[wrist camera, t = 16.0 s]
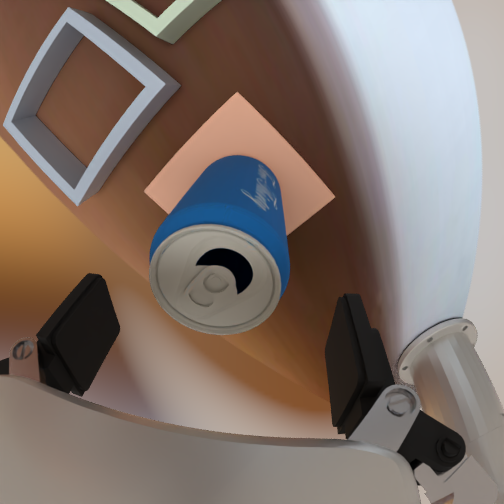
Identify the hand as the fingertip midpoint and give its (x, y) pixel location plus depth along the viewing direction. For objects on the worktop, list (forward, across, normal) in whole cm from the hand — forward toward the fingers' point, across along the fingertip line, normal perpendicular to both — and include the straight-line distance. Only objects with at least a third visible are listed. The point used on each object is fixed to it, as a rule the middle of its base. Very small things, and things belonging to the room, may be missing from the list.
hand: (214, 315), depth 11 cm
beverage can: (+14, +1, -1) cm, 14 cm away
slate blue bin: (+13, +14, -9) cm, 21 cm away
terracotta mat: (+14, +1, -1) cm, 14 cm away
